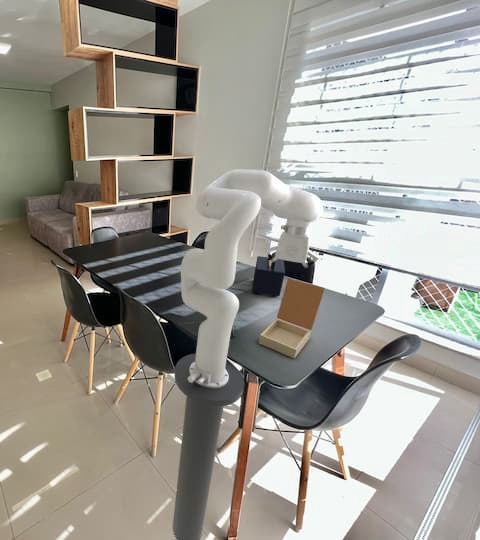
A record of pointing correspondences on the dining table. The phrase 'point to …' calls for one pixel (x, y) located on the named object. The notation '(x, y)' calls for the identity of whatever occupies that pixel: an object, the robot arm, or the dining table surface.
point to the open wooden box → (284, 338)
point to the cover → (300, 303)
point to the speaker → (268, 277)
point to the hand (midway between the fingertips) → (286, 273)
